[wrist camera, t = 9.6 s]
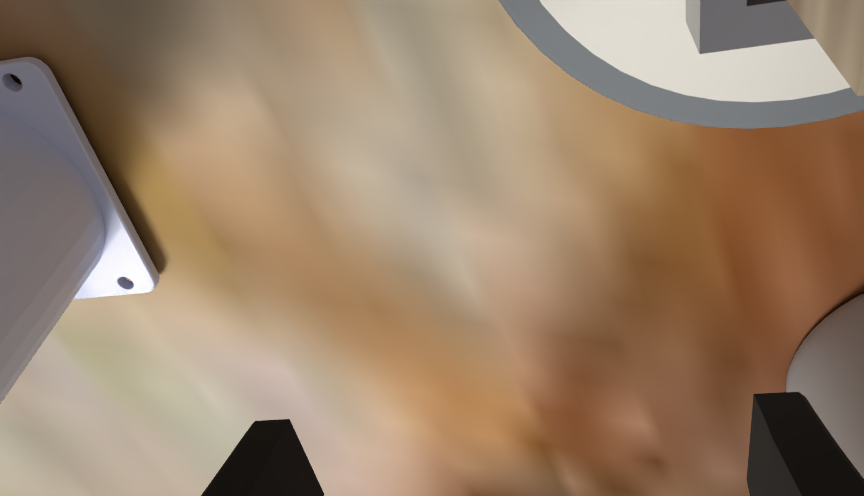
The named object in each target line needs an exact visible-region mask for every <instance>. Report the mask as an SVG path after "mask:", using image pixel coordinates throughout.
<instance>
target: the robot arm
mask: <svg viewBox="0 0 864 496" xmlns="http://www.w3.org/2000/svg"><path fill="white" fill-rule="evenodd" d="M10 74H13V75H15V76H17V77H18V78H19V79H20V81H21V82H22V85H20V84H18V83H16V82H15V81H14V80H13V79H12V78H11V75H10ZM125 277H127V278H129V279H130V280H131V281H129V280H127V279H125ZM158 282H159V274H158V272H157V270H156V268H155V266H154V264H153V263H152V261H151V259H150V257H149V255H148V253H147V251H146V249H145V247H144V245H143V244H142V242H141V240H140V238H139V236H138V234H137V232H136V230H135V228H134V226H133V225H132V223H131V221H130V219H129V217H128V215H127V213H126V211H125V209H124V207H123V206H122V204H121V202H120V200H119V198H118V196H117V194H116V192H115V190H114V188H113V187H112V185H111V183H110V181H109V179H108V177H107V175H106V173H105V171H104V169H103V168H102V166H101V164H100V162H99V160H98V158H97V156H96V154H95V152H94V150H93V149H92V147H91V145H90V143H89V141H88V139H87V137H86V135H85V133H84V132H83V130H82V128H81V126H80V124H79V122H78V120H77V118H76V116H75V114H74V113H73V111H72V109H71V107H70V105H69V103H68V101H67V99H66V97H65V95H64V94H63V92H62V90H61V88H60V86H59V84H58V82H57V80H56V78H55V76H54V75H53V73H52V71H51V70H50V68H49V67H48V66H47V65H46V64H45V63H44V62H42V61H41V60H39V59H37V58H34V57H22V58H16V59H9V60H3V61H0V404H1V402H2V401H3V399H4V398H5V396H6V395H7V394H8V392H9V391H10V389H11V388H12V386H13V385H14V383H15V382H16V381H17V379H18V378H19V376H20V375H21V373H22V372H23V370H24V369H25V368H26V366H27V365H28V363H29V362H30V360H31V359H32V357H33V356H34V355H35V353H36V352H37V350H38V349H39V347H40V346H41V345H42V343H43V342H44V340H45V339H46V337H47V336H48V334H49V333H50V332H51V330H52V329H53V327H54V326H55V324H56V323H57V321H58V320H59V319H60V317H61V316H62V314H63V313H64V311H65V310H66V308H67V307H68V306H69V304H70V303H71V301H72V300H73V299H83V298H94V297H105V296H116V295H127V294H138V293H148V292H151V291H153V290H154V289H155V287H156V286H157V284H158ZM747 483H748V488H749V493H750V496H864V478H863V477H862V476H861V475H860V473H859V472H858V471H857V469H856V468H855V467H854V465H853V464H852V463H851V461H850V460H849V459H848V457H847V456H846V455H845V453H844V452H843V451H842V449H841V448H840V446H839V445H838V444H837V442H836V441H835V439H834V438H833V437H832V435H831V434H830V432H829V431H828V430H827V428H826V427H825V425H824V424H823V422H822V421H821V419H820V418H819V416H818V415H817V413H816V412H815V410H814V409H813V407H812V406H811V404H810V403H809V401H808V400H807V398H806V397H805V396H804V395H802V394H801V393H800V392H784V393H765V394H754V397H753V409H752V422H751V434H750V446H749V459H748V471H747ZM201 496H324V493H323V491H322V488H321V486H320V484H319V482H318V480H317V478H316V475H315V473H314V471H313V469H312V467H311V465H310V462H309V460H308V458H307V456H306V454H305V452H304V450H303V447H302V445H301V443H300V441H299V439H298V437H297V434H296V432H295V430H294V428H293V426H292V424H291V421H290V419H284V420H266V421H255V422H254V423H253V424H252V425H251V427H250V428H249V429H248V431H247V432H246V433H245V435H244V436H243V438H242V439H241V440H240V442H239V443H238V445H237V446H236V447H235V449H234V450H233V452H232V453H231V455H230V456H229V457H228V459H227V460H226V462H225V463H224V464H223V466H222V467H221V469H220V470H219V471H218V473H217V474H216V476H215V477H214V478H213V480H212V481H211V483H210V484H209V485H208V487H207V488H206V490H205V491H204V492H203V494H202V495H201Z"/></svg>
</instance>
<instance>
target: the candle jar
mask: <svg viewBox="0 0 864 496" xmlns="http://www.w3.org/2000/svg"><path fill="white" fill-rule="evenodd" d="M499 1H500V3H501V4H502V6H503V7H504V9H505V10H506V11H507V13H508V14H509V16H510V17H511V19H512V20H513V21H514V23H515V24H516V25H517V26H518V27H519V28H520V30H521V31H522V32H523V33H524V34H525V35H526V36H527V37H528V38H529V39H530V40H531V41H532V42H533V43H534V45H535V46H536V47H537V48H538V49H539V50H540V51H541V52H542V53H543V54H544V55H546V56H547V57H548V58H549V59H551V60H552V61H553V62H554V63H555V64H557V65H558V66H559V67H560V68H562V69H563V70H564V71H565V72H566V73H568V74H569V75H570V76H572V77H573V78H575V79H577V80H578V81H580V82H581V83H583V84H585V85H586V86H588V87H590V88H591V89H593V90H595V91H596V92H598V93H599V94H601V95H603V96H605V97H607V98H610V99H612V100H614V101H616V102H619V103H621V104H623V105H626V106H628V107H630V108H632V109H635V110H637V111H641V112H644V113H648V114H651V115H654V116H658V117H661V118H664V119H668V120H671V121H677V122H683V123H689V124H695V125H701V126H707V127H723V128H744V129H751V128H766V127H782V126H792V125H798V124H804V123H809V122H815V121H821V120H827V119H832V118H835V117H839V116H843V115H846V114H850V113H854V112H857V111H861V110H864V95H863V96H857V95H856V94H855V92H854V91H853V90H852V88H851V87H850V86H849V84H848V83H847V81H846V80H845V79H844V77H843V76H842V75H841V73H840V72H839V71H838V69H837V68H836V66H835V65H834V64H833V62H832V61H831V60H830V58H829V57H828V56H827V54H826V53H825V51H824V50H823V49H822V47H821V46H820V45H819V43H818V42H817V41H816V39H815V38H814V36H813V35H812V34H811V32H810V31H809V30H808V28H807V27H806V26H805V24H804V23H803V21H802V20H801V19H800V17H799V16H798V15H797V13H796V12H795V11H794V9H793V8H792V6H791V5H790V4H789V2H788V1H787V0H499Z"/></svg>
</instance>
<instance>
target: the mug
mask: <svg viewBox="0 0 864 496" xmlns="http://www.w3.org/2000/svg"><path fill="white" fill-rule="evenodd" d="M786 391H787V392H800V393H801V394H802V395H804V396H805V397H806V398H807V400H808V401H809V403H810V404H811V406H812V407H813V409H814V410H815V412H816V413H817V415H818V416H819V418H820V419H821V421H822V422H823V424H824V425H825V427H826V428H827V430H828V431H829V432H830V434H831V435H832V437H833V438H834V439H835V441H836V442H837V444H838V445H839V446H840V448H841V449H842V451H843V452H844V453H845V455H846V456H847V457H848V459H849V460H850V461H851V463H852V464H853V465H854V467H855V468H856V469H857V471H858V472H859V473H860V475H861V476H862V477H863V478H864V293H863V294H861V295H859V296H857V297H855V298H853V299H852V300H850V301H848V302H847V303H845V304H844V305H842V306H840V307H839V308H837V309H836V310H835V311H833V312H832V313H831V314H829V315H828V316H827V317H825V318H824V319H823V320H822V321H821V322H820V323H819V324H818V325H817V326H816V327H815V328H814V329H813V330H812V331H811V332H810V333H809V334H808V336H807V337H806V338H805V339H804V340H803V342H802V344H801V345H800V347H799V348H798V350H797V352H796V353H795V355H794V357H793V360H792V362H791V364H790V367H789V371H788V375H787V389H786Z"/></svg>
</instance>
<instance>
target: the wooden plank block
mask: <svg viewBox="0 0 864 496" xmlns="http://www.w3.org/2000/svg"><path fill="white" fill-rule="evenodd" d="M787 1H788V2H789V4H790V5H791V6H792V8H793V9H794V11H795V12H796V13H797V15H798V16H799V17H800V19H801V20H802V21H803V23H804V24H805V26H806V27H807V28H808V30H809V31H810V32H811V34H812V35H813V36H814V38H815V39H816V41H817V42H818V43H819V45H820V46H821V47H822V49H823V50H824V51H825V53H826V54H827V56H828V57H829V58H830V60H831V61H832V62H833V64H834V65H835V66H836V68H837V69H838V71H839V72H840V73H841V75H842V76H843V77H844V79H845V80H846V81H847V83H848V84H849V86H850V87H851V88H852V90H853V91H854V92H855V94H856V95H857V96H863V95H864V0H787Z"/></svg>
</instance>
